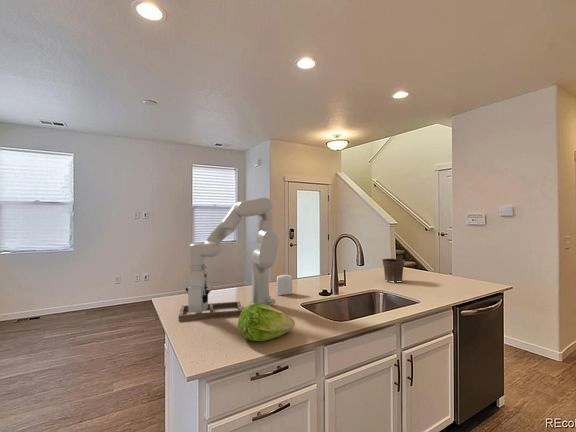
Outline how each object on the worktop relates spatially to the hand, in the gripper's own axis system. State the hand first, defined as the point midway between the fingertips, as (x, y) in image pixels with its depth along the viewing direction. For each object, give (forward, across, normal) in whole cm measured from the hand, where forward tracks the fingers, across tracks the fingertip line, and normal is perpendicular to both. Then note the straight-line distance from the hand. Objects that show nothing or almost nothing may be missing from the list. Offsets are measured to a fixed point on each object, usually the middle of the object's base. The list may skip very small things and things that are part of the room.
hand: (198, 301), depth 151 cm
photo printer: (+8, -28, -50) cm, 58 cm away
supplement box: (+5, 0, 0) cm, 5 cm away
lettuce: (+7, -45, +13) cm, 47 cm away
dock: (+7, -5, -4) cm, 9 cm away
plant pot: (+11, -93, -112) cm, 146 cm away
